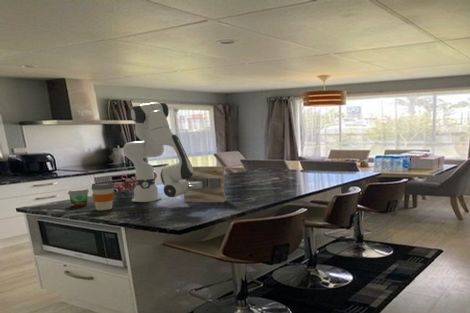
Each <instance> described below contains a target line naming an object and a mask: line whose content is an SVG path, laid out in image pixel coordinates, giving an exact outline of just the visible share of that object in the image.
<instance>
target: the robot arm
mask: <svg viewBox="0 0 470 313" xmlns="http://www.w3.org/2000/svg"><path fill="white" fill-rule="evenodd" d="M169 112H170V111H169V106H168V105H167V104H166V103H165V102H163V101H158V102H148V103H142V104H135V105H133V106H132V107H131V110H130V116H131V118H132V119H131V120H133V122H134V125H135V128H134V129H135V131H134V134H135V136H136V137H137V138H138V139H139V140H137V141H136V140H135V141H131V142H126V143H124V146H123V147H122V152H123V155H124V157H126V158H127V159H129V160H130V162H132V164H133V165H134V168H135V174H136V179H135V185H136V186H135V187H134V189H133V197H132V199H131V202H137V203H149V202H155V201H158V200H159V201H160V200H161V199H162V198H161V196H159V192H158V186H156V178H155V175H154V174H155V173H154V166H153V165H152V164H151V163H148V162H146V161H144V159H145V158H157V157H160V156H162V155H163V154H164V151H165V148H164V146H169V147H172V148H173V150H174V152H175V154H176V156H177V158H178V160H179V162H178V163H174V164H170V165H166V166H163V168H161V171H160V180H161V183H162V185H163V193H164V194H165V196H167V197H169V198H173V199H174V198H176V197H180V196H182V195H184V193H186V192H187V191H188V190H189V189H199V188H202V182H187V181H186V180H185V179H190V178H191V176H192V175H193V172H194V170H193V167H192V166H193V165H192V163H191V161H190V159H189V158H188V156H187V153H186V150H185V148H184V145H183V144H182V141H181V140H180V139H179V136H178V135H177V134H174V133H173V132H172V131H171V128H170V125H169V121H168V119H167V118H168V116H169Z"/></svg>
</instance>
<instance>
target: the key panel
mask: <svg viewBox="0 0 470 313" xmlns="http://www.w3.org/2000/svg"><path fill="white" fill-rule="evenodd" d="M192 167H193V170H194V172H193V175H192V176H191V178H196V182H197V179H199V178H208V187H202V188H199V189H189V190H188V191H187V192H186V193H184V194H183V197H184V199H183V200H184V202H186V203H191V202H193V203H225V202H226V201H227V196H226V189H225V187H226V186H225V184H226V183H225V166H224V165H214V166H213V165H210V166H209V165H208V166H207V165H205V166H204V165H203V166H202V165H201V166H195V165H194V166H193V165H192ZM211 178H220V185H221V187H210V179H211ZM185 180H186V179H185Z"/></svg>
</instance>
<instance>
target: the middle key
mask: <svg viewBox="0 0 470 313" xmlns="http://www.w3.org/2000/svg"><path fill="white" fill-rule="evenodd" d="M197 182H202V187H208V178H199V179H197Z"/></svg>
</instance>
